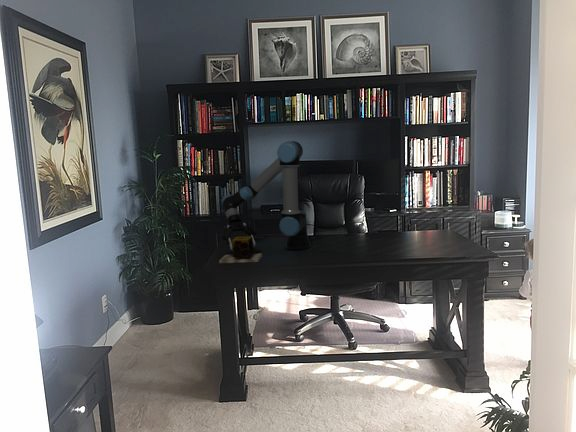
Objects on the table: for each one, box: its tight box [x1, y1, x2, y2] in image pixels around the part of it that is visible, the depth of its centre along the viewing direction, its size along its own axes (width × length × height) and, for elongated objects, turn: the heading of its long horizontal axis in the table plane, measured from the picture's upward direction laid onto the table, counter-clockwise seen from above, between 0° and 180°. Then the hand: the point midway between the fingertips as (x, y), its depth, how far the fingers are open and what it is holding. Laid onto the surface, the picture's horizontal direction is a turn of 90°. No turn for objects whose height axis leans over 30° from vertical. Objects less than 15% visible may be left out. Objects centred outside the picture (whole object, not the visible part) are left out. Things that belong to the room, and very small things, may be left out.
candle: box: [231, 235, 255, 258], centre depth 280 cm, size 10×10×10 cm
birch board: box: [218, 253, 263, 264], centre depth 283 cm, size 22×14×2 cm, turn 82°
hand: (243, 247), depth 280 cm, fingers closed on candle, 13 cm apart
